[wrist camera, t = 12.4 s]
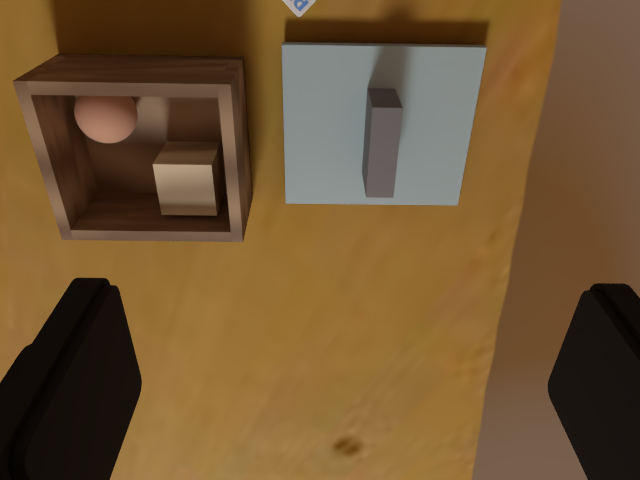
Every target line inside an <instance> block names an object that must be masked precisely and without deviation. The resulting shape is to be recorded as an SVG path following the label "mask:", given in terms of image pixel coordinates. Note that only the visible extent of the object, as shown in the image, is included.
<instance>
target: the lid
mask: <svg viewBox="0 0 640 480" xmlns="http://www.w3.org/2000/svg"><path fill="white" fill-rule="evenodd" d="M486 50H487V47H486V46H484V45H460V44H390V43H319V42H282V74H283V113H284V152H285V191H286V203H290V204H384V205H458V200H459V195H460V189H461V184H462V179H463V173H464V168H465V163H466V157H467V152H468V146H469V141H470V136H471V130H472V125H473V120H474V114H475V109H476V103H477V98H478V93H479V87H480V82H481V76H482V71H483V66H484V60H485V55H486Z"/></svg>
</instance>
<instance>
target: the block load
mask: <svg viewBox="0 0 640 480" xmlns="http://www.w3.org/2000/svg"><path fill="white" fill-rule="evenodd" d="M153 170H154V175H155V181H156V186H157V192H158V198H159V203H160V209H161V215H215V216H217V214H218V211H219V207H220V204H221V201H222V198H223V195H224V192H225V183H224V172H223V162H222V151H221V142H181V141H167V142H166V144H165V145H164V147H163V148H162V150H161V152H160V153H159V155H158V156H157V158H156V160H155V161H154V163H153Z"/></svg>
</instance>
